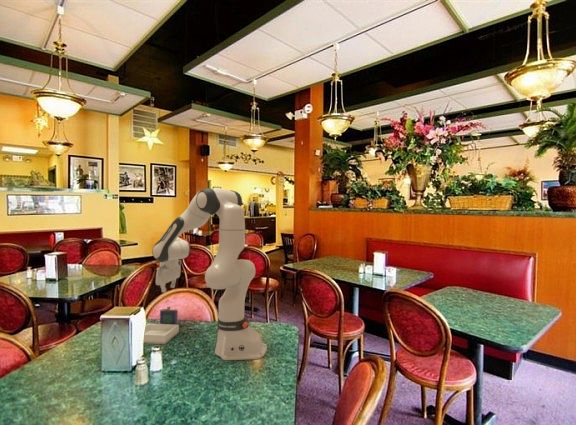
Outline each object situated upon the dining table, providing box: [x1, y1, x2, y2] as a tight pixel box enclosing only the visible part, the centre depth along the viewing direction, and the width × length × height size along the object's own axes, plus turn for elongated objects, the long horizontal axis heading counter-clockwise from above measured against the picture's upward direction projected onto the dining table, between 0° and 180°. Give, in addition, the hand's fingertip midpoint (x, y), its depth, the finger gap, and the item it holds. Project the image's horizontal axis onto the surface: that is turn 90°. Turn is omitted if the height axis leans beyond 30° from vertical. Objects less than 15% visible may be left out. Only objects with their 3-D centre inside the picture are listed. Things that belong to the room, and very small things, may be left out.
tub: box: [143, 323, 180, 345], centre depth 152 cm, size 16×14×4 cm
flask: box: [159, 306, 179, 325], centre depth 166 cm, size 9×3×11 cm, turn 87°
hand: (168, 289), depth 166 cm, fingers open, 8 cm apart
